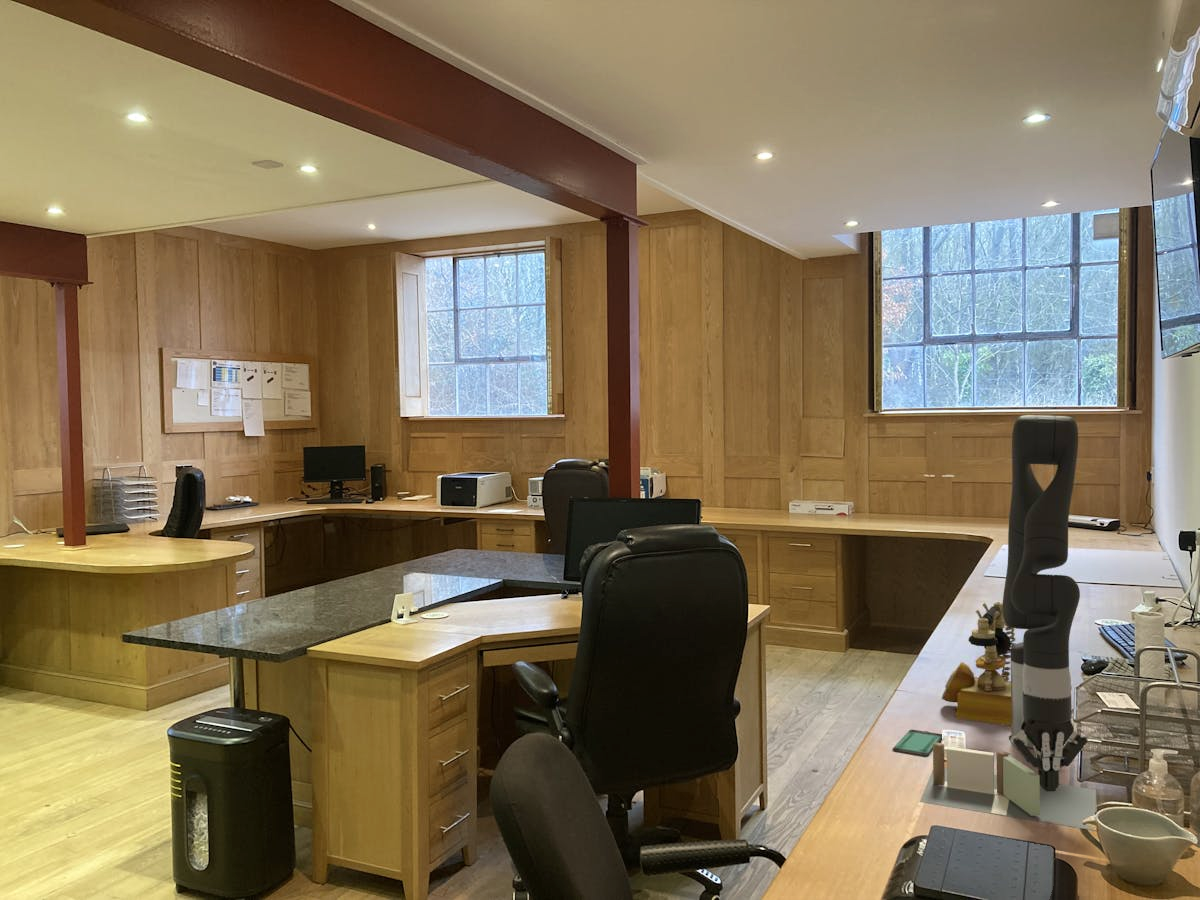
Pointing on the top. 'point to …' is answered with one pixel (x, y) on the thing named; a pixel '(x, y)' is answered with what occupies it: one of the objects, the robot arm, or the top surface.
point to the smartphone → (918, 743)
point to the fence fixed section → (968, 768)
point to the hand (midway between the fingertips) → (1048, 789)
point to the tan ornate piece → (985, 673)
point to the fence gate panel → (1021, 785)
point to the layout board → (1054, 805)
